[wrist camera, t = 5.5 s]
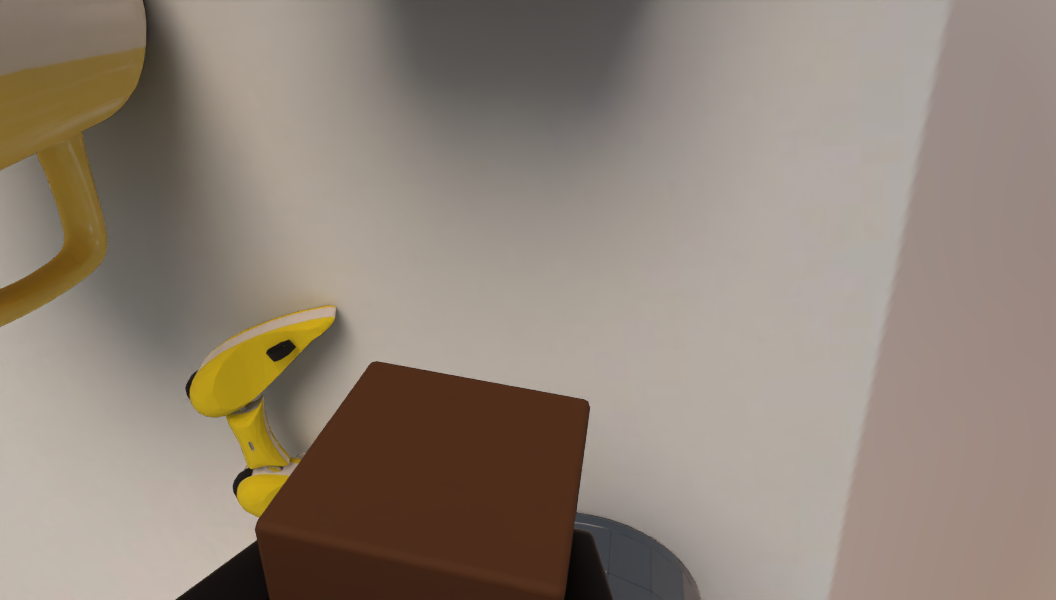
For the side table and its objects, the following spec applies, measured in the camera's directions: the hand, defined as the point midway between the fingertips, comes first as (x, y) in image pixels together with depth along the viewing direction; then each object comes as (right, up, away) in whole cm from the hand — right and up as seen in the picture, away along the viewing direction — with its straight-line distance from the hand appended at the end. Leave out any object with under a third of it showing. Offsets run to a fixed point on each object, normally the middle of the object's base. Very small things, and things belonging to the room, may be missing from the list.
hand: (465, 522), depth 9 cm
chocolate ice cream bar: (0, -1, +1) cm, 2 cm away
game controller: (-9, -1, +17) cm, 19 cm away
